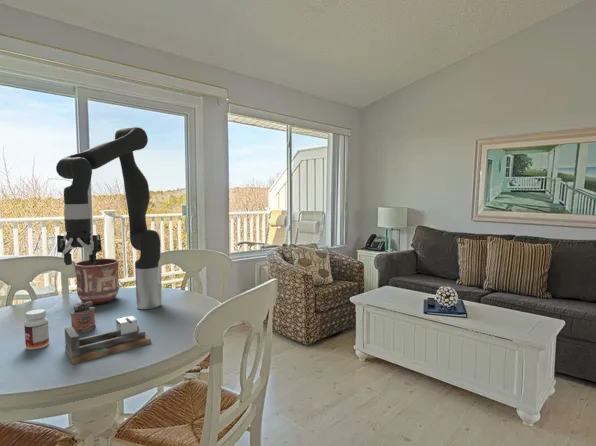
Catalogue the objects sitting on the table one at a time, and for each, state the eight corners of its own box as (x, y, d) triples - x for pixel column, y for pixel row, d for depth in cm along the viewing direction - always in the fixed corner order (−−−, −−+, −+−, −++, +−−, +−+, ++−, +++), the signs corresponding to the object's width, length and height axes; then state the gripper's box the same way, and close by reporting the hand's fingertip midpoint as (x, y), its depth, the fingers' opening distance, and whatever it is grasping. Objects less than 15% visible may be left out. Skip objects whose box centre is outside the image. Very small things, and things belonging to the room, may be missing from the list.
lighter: (74, 335, 126) (73, 307, 125) (69, 333, 128) (67, 305, 127) (97, 328, 133) (96, 301, 132) (92, 326, 135) (91, 299, 134)
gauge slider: (132, 332, 123) (132, 314, 123) (140, 339, 118) (139, 319, 117) (116, 336, 120) (115, 317, 120) (123, 343, 115) (122, 323, 114)
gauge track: (138, 332, 128) (137, 311, 128) (151, 343, 119) (150, 320, 119) (65, 350, 114) (63, 327, 113) (73, 364, 105) (71, 338, 104)
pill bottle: (23, 346, 117) (21, 312, 116) (45, 340, 122) (43, 307, 121) (29, 352, 113) (26, 316, 112) (52, 345, 118) (50, 311, 117)
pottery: (66, 306, 158) (64, 265, 157) (94, 294, 176) (92, 257, 174) (103, 308, 156) (102, 266, 154) (128, 296, 173) (127, 258, 172)
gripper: (104, 216, 127) (107, 262, 128) (65, 216, 128) (68, 262, 129) (90, 218, 119) (93, 267, 121) (49, 218, 120) (52, 267, 122)
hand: (80, 264), depth 125 cm, fingers open, 8 cm apart
